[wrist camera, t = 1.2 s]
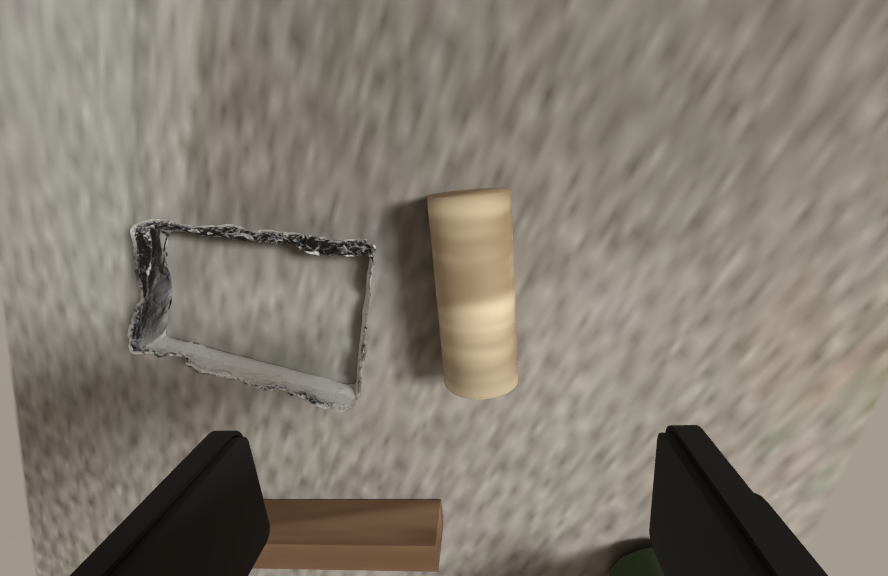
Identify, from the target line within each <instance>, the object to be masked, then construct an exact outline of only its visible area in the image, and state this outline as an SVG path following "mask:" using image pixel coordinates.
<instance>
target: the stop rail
mask: <svg viewBox="0 0 888 576" xmlns="http://www.w3.org/2000/svg"><path fill="white" fill-rule="evenodd" d="M264 504H265V508H266V511H267V515H268V519H269V523H270V533H269V537H268V540H267V543H266V545H265V546H264V548H263V550H262V552H261V554H260V555H259V557H258V559H257V561H256V563H255V564H254V566H253V568H266V569H320V570H374V571H427V572H438V569H439V560H440V550H441V541H442V531H443V515H442V506H441V500H264Z"/></svg>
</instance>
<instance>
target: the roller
mask: <svg viewBox="0 0 888 576" xmlns="http://www.w3.org/2000/svg"><path fill="white" fill-rule="evenodd" d="M427 204H428V215H429V225H430V235H431V246H432V256H433V267H434V277H435V288H436V298H437V308H438V319H439V329H440V340H441V350H442V361H443V371H444V382H445V386H446V388H447V389H448V390H449V391H450V392H452V393H453V394H455V395H457V396H460V397H464V398H469V399H489V398H495V397H498V396H502V395H504V394H506V393H508V392H510V391H511V390H512V389H513V388H514V387H515V386H516V385H517V382H518V367H517V340H516V312H515V285H514V258H513V231H512V203H511V189H506V188H488V189H474V190H461V191H451V192H443V193H437V194H432V195H429V196H427Z"/></svg>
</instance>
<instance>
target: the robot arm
mask: <svg viewBox="0 0 888 576" xmlns="http://www.w3.org/2000/svg"><path fill="white" fill-rule="evenodd" d="M649 532H650V540H651V544H652V547H653V550H654V552H655V555H656V557H657V559H658V562H659V564H660V566H661V569H662V571H663V573H664V575H665V576H828V575H827V574H826V573H825V572H824V570H823V569H822V568H821V567H820V566H819V564H818V563H817V562H816V561H815V559H814V558H813V557H812V556H811V554H810V553H809V552H808V551H807V550H806V548H805V547H804V546H803V545H802V544H801V542H800V541H799V540H798V539H797V537H796V536H795V535H794V534H793V533H792V531H791V530H790V529H789V528H788V526H787V525H786V524H785V523H784V522H783V520H782V519H781V518H780V517H779V516H778V514H777V513H776V512H775V511H774V509H773V508H772V507H771V506H770V505H769V503H768V502H767V501H766V500H765V499H764V498H763V497H762V496H760V495H758V494H756V493H753V492H752V490H751V489H750V488H749V487H748V485H747V484H746V483H745V482H744V480H743V479H742V478H741V477H740V475H739V474H738V473H737V472H736V470H735V469H734V468H733V467H732V466H731V464H730V463H729V462H728V461H727V459H726V458H725V457H724V456H723V454H722V453H721V452H720V451H719V449H718V448H717V447H716V446H715V444H714V443H713V442H712V441H711V439H710V438H709V437H708V436H707V434H706V433H705V432H704V431H703V429H702V428H701V427H699V426H697V425H670V426H668V427H667V429H666V432H665V433H659V435H658V438H657V449H656V460H655V471H654V483H653V494H652V506H651V517H650V529H649ZM269 533H270V523H269V519H268V515H267V511H266V508H265V504H264V500H263V496H262V492H261V488H260V484H259V480H258V476H257V472H256V468H255V465H254V461H253V457H252V453H251V449H250V445H249V442H248V439H247V438H246V437H243V436H242V434H241V433H240V432H239V431H213V432H211V433H210V434H208V435H207V436H206V437H205V438H204V439H203V440H202V441H201V442H200V443H199V444H198V445H197V446H196V447H195V448H194V450H193V451H192V452H191V453H190V454H189V455H188V456H187V457H186V458H185V459H184V460H183V461H182V462H181V463H180V464H179V465H178V466H177V467H176V468H175V469H174V470H173V471H172V472H171V473H170V474H169V475H168V476H167V477H166V478H165V479H164V480H163V481H162V482H161V483H160V484H159V485H158V486H157V487H156V488H155V489H154V490H153V491H152V492H151V493H150V494H149V495H148V496H147V497H146V498H145V499H144V500H143V501H142V503H141V504H140V505H139V506H138V507H137V508H136V509H135V510H134V511H133V512H132V513H131V514H130V515H129V516H128V517H127V518H126V519H125V520H124V521H123V522H122V523H121V524H120V525H119V526H118V527H117V528H116V529H115V530H114V531H113V532H112V533H111V534H110V535H109V536H108V537H107V538H106V539H105V540H104V541H103V542H102V543H101V544H100V545H99V546H98V547H97V548H96V549H95V550H94V551H93V552H92V553H91V555H90V556H89V557H88V558H87V559H86V560H85V561H84V562H83V563H82V564H81V565H80V566H79V567H78V568H77V569H76V570H75V571H74V572H73V573H72V574H71V575H70V576H248V575H249V573H250V572H251V570H252V568H253V566H254V564H255V563H256V561H257V559H258V557H259V555H260V554H261V552H262V550H263V548H264V546H265V545H266V543H267V540H268V537H269Z"/></svg>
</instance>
